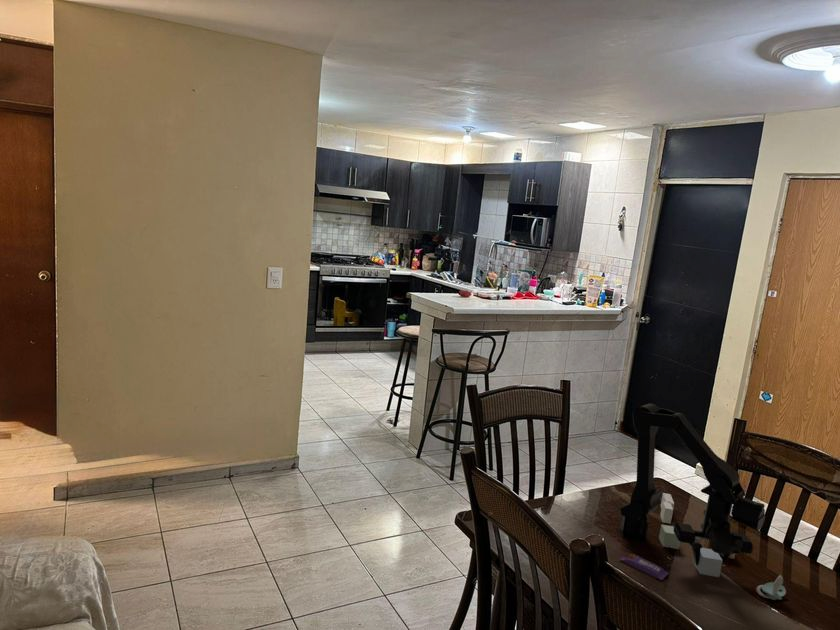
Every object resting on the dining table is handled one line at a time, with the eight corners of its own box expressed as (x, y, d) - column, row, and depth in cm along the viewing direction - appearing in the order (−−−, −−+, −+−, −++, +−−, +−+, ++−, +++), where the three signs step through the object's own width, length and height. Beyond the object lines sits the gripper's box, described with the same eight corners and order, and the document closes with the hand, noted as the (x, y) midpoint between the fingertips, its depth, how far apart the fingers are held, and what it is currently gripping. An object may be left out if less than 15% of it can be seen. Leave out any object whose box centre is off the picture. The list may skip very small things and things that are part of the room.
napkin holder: (659, 503, 194) (662, 487, 193) (692, 519, 186) (695, 502, 185) (634, 513, 185) (637, 497, 184) (667, 530, 176) (671, 513, 175)
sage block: (662, 546, 166) (665, 532, 165) (658, 538, 170) (661, 524, 170) (678, 549, 165) (681, 535, 165) (674, 541, 170) (677, 527, 169)
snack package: (669, 569, 152) (662, 577, 148) (668, 576, 152) (661, 583, 149) (627, 549, 160) (620, 556, 156) (626, 555, 160) (618, 562, 157)
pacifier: (752, 594, 147) (778, 606, 143) (756, 572, 147) (783, 583, 142) (760, 584, 153) (786, 595, 148) (764, 562, 152) (790, 573, 148)
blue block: (699, 573, 154) (702, 556, 153) (693, 563, 159) (697, 546, 158) (719, 577, 153) (722, 560, 153) (712, 566, 158) (716, 550, 157)
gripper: (690, 522, 147) (679, 577, 150) (767, 535, 144) (755, 591, 147) (677, 502, 158) (668, 553, 160) (750, 513, 155) (739, 566, 158)
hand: (706, 566), depth 156 cm, fingers open, 5 cm apart
